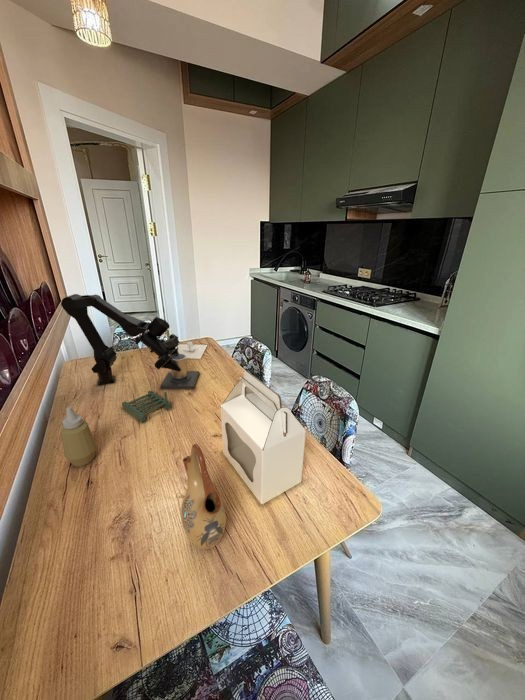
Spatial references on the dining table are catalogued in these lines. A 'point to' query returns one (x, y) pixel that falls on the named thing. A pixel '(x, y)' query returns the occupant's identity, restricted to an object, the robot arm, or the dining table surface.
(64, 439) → the squeeze bottle
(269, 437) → the gable box
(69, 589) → the dining table surface
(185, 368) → the steel pot
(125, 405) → the dish rack
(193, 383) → the hob
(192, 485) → the ceramic vessel
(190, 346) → the teacup and saucer
